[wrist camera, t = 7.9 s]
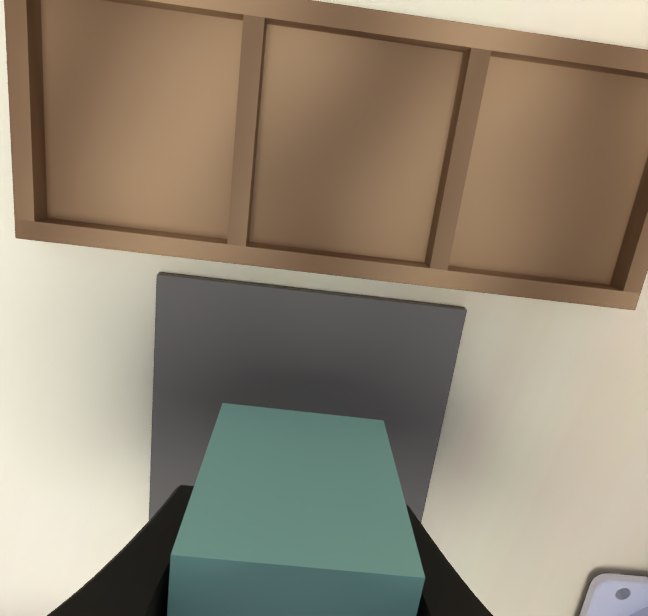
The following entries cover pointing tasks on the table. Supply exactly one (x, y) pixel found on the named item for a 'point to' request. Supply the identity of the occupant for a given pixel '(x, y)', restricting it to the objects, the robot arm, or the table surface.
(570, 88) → the organizer
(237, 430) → the teal block
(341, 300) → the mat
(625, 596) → the robot arm
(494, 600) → the table surface
